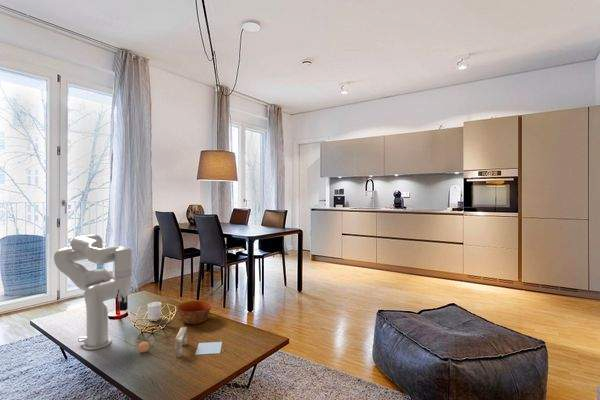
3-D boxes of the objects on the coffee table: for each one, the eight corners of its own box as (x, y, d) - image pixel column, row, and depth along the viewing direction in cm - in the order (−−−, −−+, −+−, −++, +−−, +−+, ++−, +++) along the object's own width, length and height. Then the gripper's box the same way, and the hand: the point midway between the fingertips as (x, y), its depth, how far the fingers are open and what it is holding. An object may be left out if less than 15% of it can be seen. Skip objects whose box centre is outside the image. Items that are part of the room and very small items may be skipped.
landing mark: (195, 354, 162) (195, 354, 162) (199, 343, 174) (199, 343, 174) (220, 353, 164) (220, 352, 164) (222, 342, 176) (222, 341, 176)
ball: (136, 354, 161) (136, 344, 161) (139, 349, 166) (139, 340, 166) (147, 354, 162) (147, 344, 161) (150, 349, 167) (150, 339, 166)
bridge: (174, 357, 159) (174, 339, 159) (180, 343, 173) (180, 327, 173) (181, 356, 160) (181, 339, 160) (186, 343, 174) (186, 327, 173)
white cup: (164, 318, 205) (164, 303, 205) (153, 323, 198) (153, 307, 198) (155, 316, 209) (155, 301, 208) (144, 320, 201) (144, 304, 201)
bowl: (201, 312, 217) (202, 297, 217) (218, 321, 202) (218, 306, 202) (170, 320, 202) (170, 304, 202) (186, 331, 187) (186, 314, 187)
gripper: (121, 269, 168) (121, 305, 168) (108, 277, 153) (108, 316, 153) (136, 269, 169) (136, 304, 169) (125, 277, 154) (126, 315, 155)
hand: (123, 309), depth 161 cm, fingers closed
